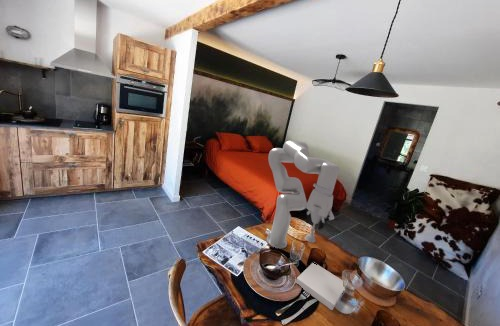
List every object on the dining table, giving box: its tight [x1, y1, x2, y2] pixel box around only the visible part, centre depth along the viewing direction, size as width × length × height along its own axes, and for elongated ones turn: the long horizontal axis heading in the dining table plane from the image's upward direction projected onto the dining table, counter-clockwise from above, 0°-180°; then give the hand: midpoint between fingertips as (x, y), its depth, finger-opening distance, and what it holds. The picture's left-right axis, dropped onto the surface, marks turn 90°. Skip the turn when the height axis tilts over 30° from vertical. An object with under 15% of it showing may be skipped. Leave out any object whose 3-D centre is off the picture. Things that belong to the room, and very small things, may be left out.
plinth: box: [295, 262, 346, 311], centre depth 103 cm, size 18×18×3 cm
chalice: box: [304, 206, 322, 244], centre depth 102 cm, size 7×7×18 cm
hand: (314, 225), depth 102 cm, fingers closed on chalice, 5 cm apart
